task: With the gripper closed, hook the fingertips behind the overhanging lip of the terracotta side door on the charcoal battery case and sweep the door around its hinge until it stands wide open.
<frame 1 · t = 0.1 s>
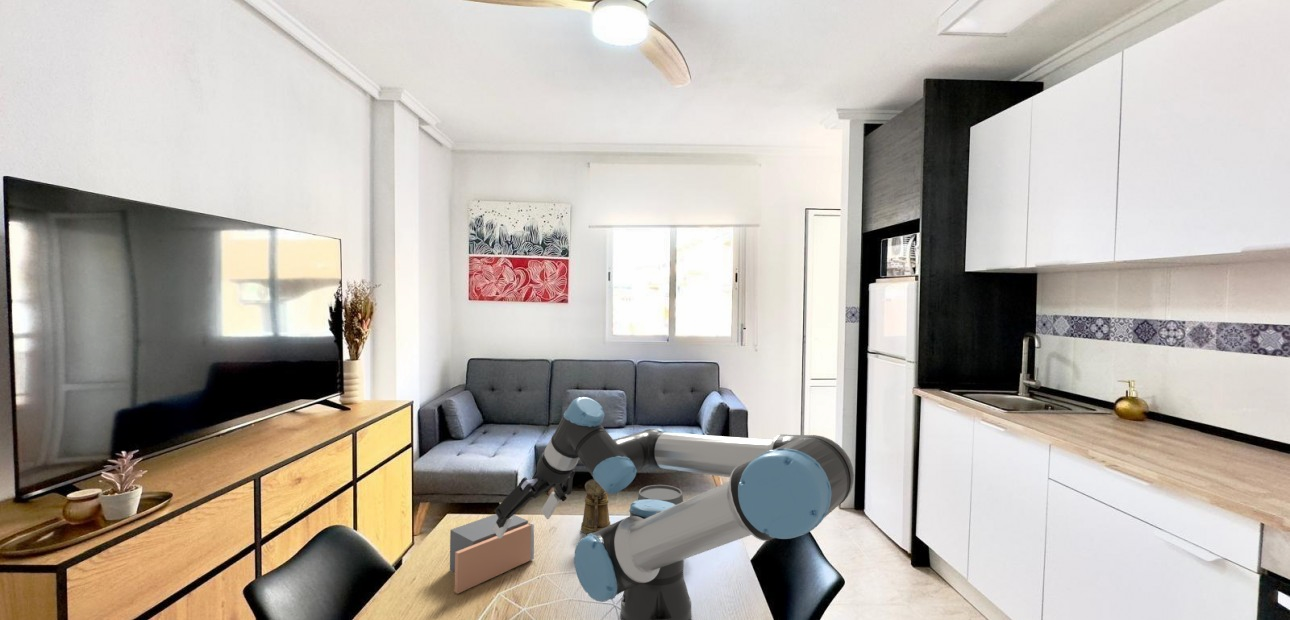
hand: (522, 523, 117), 15 cm above the table, fingers open, 13 cm apart
bronze figurine: (595, 533, 149), on the table
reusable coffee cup: (659, 547, 140), on the table
battery case: (489, 564, 129), on the table
side door: (497, 555, 123), point 5 cm above the table, hinge at 0.0°
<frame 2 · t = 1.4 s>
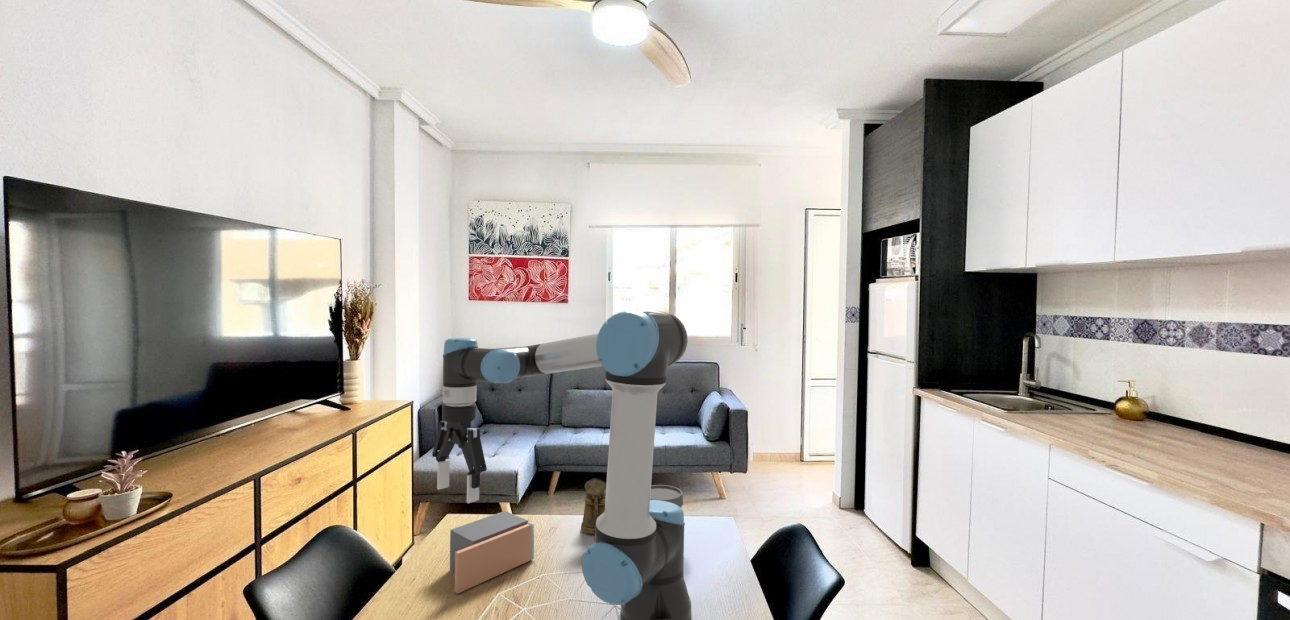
hand: (457, 494, 120), 21 cm above the table, fingers open, 12 cm apart
nothing on the table moved.
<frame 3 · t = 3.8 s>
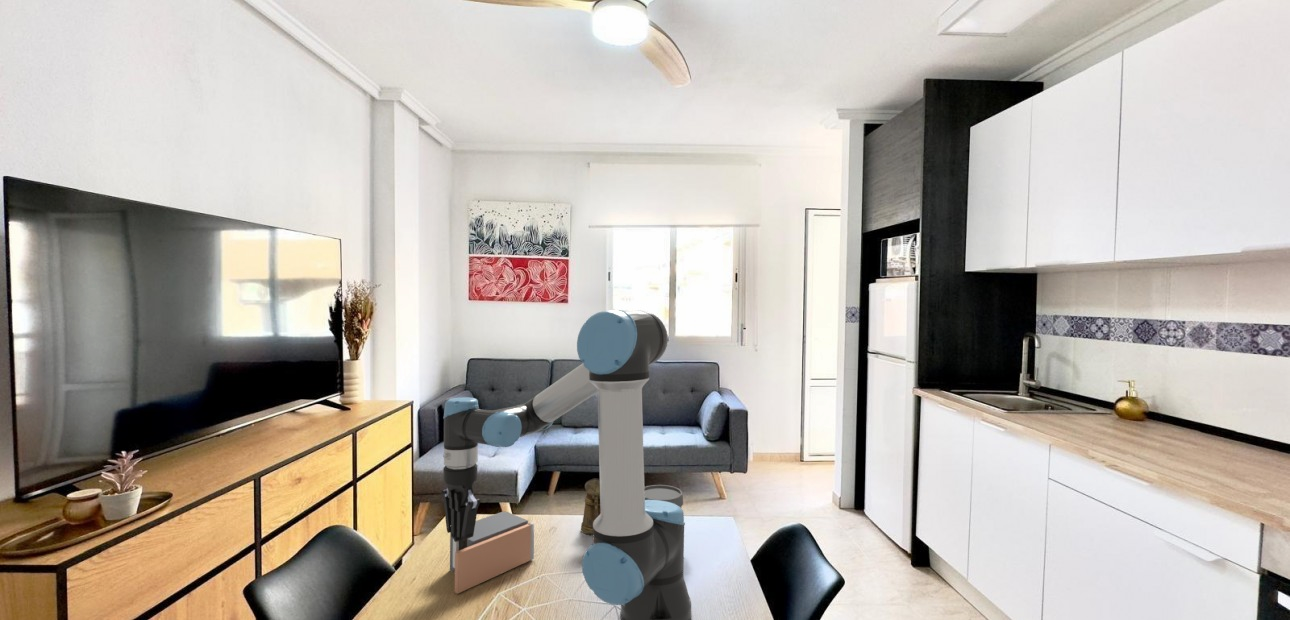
hand: (459, 565, 119), 5 cm above the table, fingers closed
side door: (497, 555, 123), point 5 cm above the table, hinge at 0.0°, touching gripper
everything else where it was.
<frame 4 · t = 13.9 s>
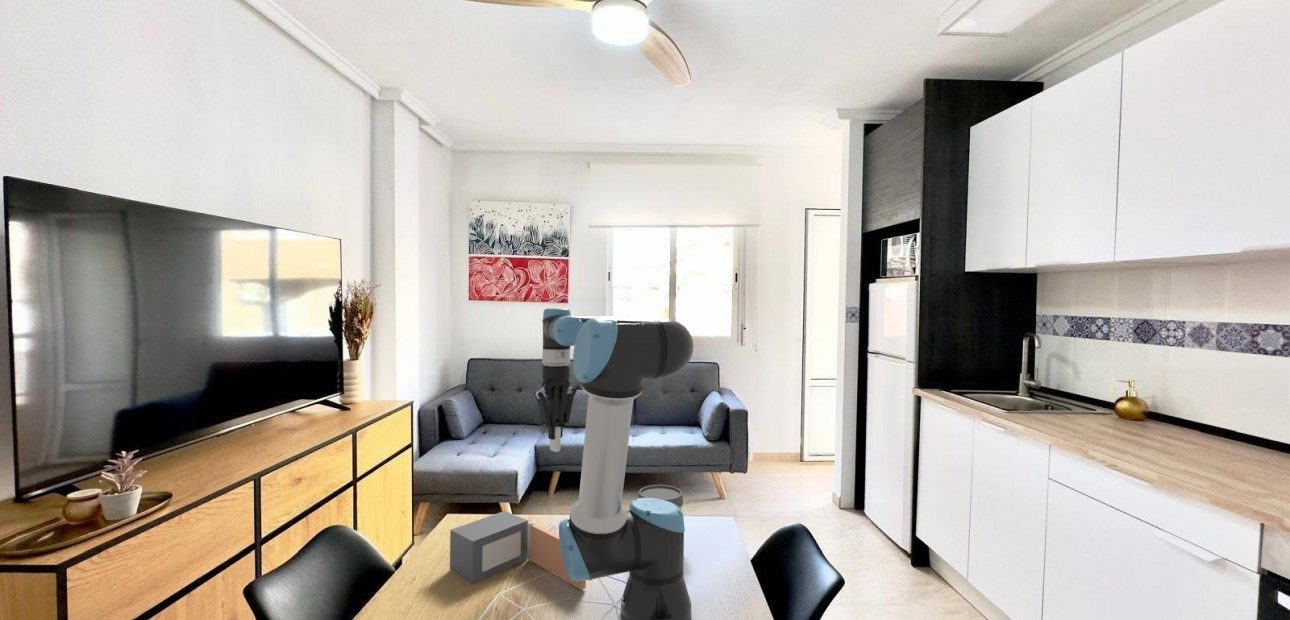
hand: (555, 450, 139), 26 cm above the table, fingers closed
side door: (554, 554, 124), point 5 cm above the table, hinge at 86.3°
everything else where it was.
at the end: side door at +86° (first picture: +0°) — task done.
